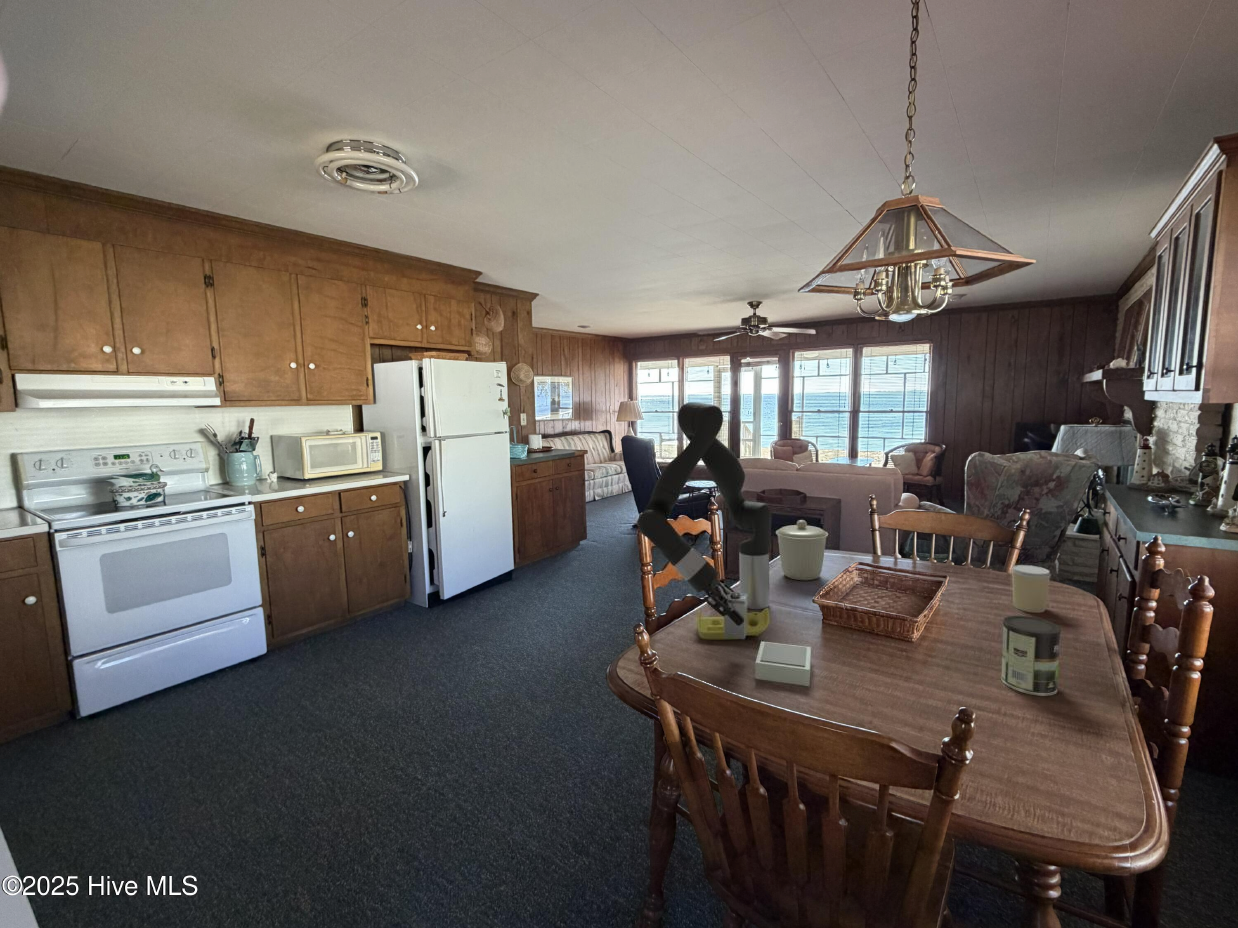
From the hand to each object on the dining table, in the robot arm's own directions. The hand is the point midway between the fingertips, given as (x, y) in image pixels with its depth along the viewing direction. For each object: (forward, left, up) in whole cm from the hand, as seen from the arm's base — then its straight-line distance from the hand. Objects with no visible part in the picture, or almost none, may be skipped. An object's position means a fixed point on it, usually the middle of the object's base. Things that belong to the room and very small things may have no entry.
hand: (743, 618), depth 140 cm
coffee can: (-5, +62, -10) cm, 63 cm away
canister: (-71, +11, -10) cm, 72 cm away
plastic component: (-13, -5, -11) cm, 18 cm away
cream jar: (-57, +77, -10) cm, 96 cm away
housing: (0, -2, -4) cm, 5 cm away
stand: (+4, +10, -10) cm, 15 cm away
